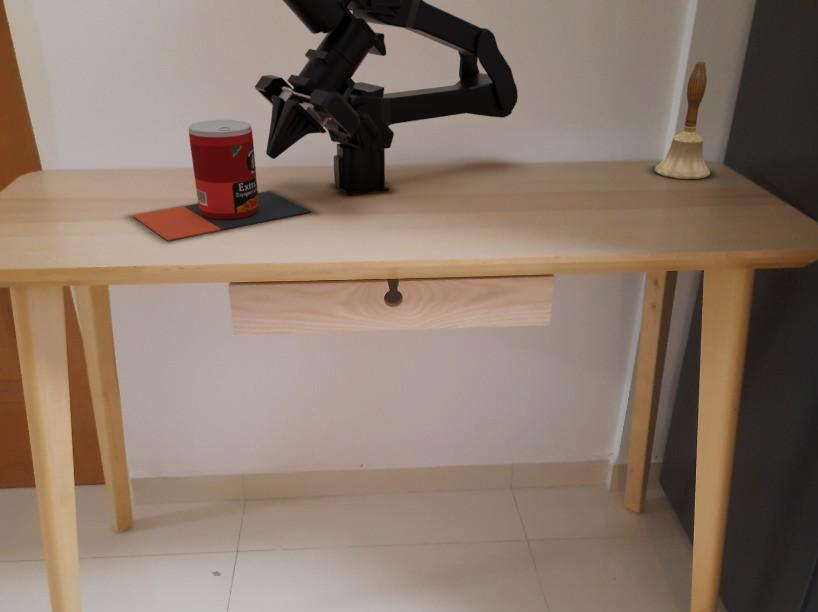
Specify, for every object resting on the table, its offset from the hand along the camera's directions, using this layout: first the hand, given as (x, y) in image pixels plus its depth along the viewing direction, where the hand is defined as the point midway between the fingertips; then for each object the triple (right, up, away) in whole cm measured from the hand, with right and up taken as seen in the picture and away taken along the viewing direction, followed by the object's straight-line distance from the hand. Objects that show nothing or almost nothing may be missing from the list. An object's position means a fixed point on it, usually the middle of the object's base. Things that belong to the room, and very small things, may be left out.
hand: (269, 156), depth 103 cm
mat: (-3, -7, +1) cm, 8 cm away
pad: (-11, -10, -4) cm, 15 cm away
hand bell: (+62, +3, +19) cm, 64 cm away
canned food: (-5, -7, 0) cm, 9 cm away
